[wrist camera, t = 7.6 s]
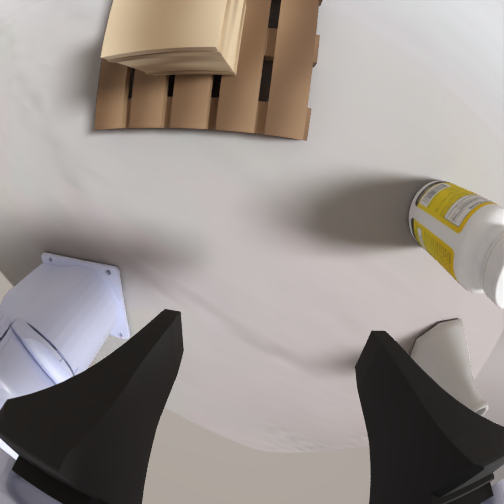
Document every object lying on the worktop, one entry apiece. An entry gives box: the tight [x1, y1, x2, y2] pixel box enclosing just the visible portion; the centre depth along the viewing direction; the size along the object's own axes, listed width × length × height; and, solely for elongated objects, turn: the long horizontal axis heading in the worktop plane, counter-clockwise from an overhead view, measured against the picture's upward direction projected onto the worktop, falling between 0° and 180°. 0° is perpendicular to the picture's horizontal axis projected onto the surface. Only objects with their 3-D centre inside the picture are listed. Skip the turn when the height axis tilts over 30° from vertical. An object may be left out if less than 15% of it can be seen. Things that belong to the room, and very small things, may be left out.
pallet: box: [95, 0, 322, 141], centre depth 13 cm, size 14×12×2 cm
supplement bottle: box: [409, 181, 504, 309], centre depth 13 cm, size 5×5×10 cm
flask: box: [410, 319, 488, 416], centre depth 18 cm, size 7×7×10 cm
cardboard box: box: [101, 0, 246, 76], centre depth 10 cm, size 5×5×6 cm
